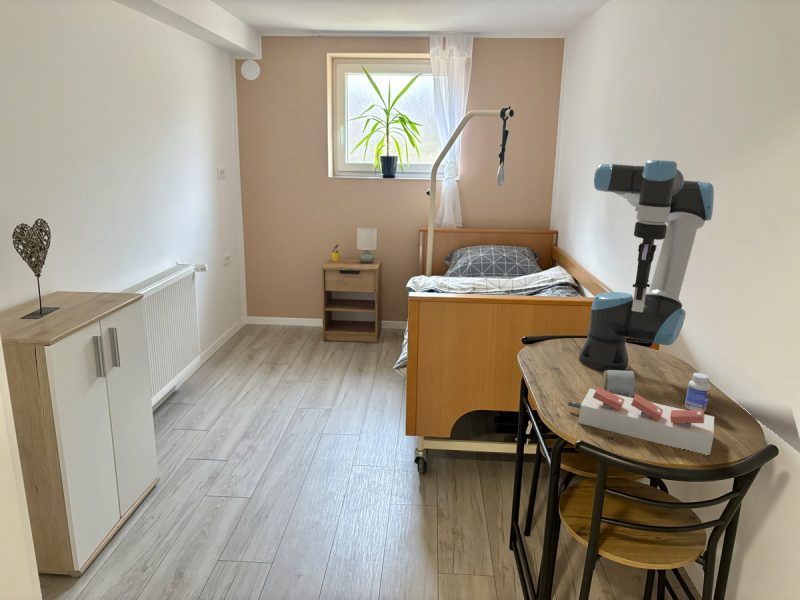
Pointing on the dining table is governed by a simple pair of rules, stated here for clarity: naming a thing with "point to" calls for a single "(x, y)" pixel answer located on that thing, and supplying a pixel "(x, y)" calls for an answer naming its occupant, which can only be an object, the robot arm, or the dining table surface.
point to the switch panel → (646, 424)
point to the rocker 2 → (647, 407)
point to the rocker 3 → (687, 416)
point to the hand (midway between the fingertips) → (637, 310)
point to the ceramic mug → (619, 382)
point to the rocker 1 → (608, 398)
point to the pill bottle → (698, 392)
